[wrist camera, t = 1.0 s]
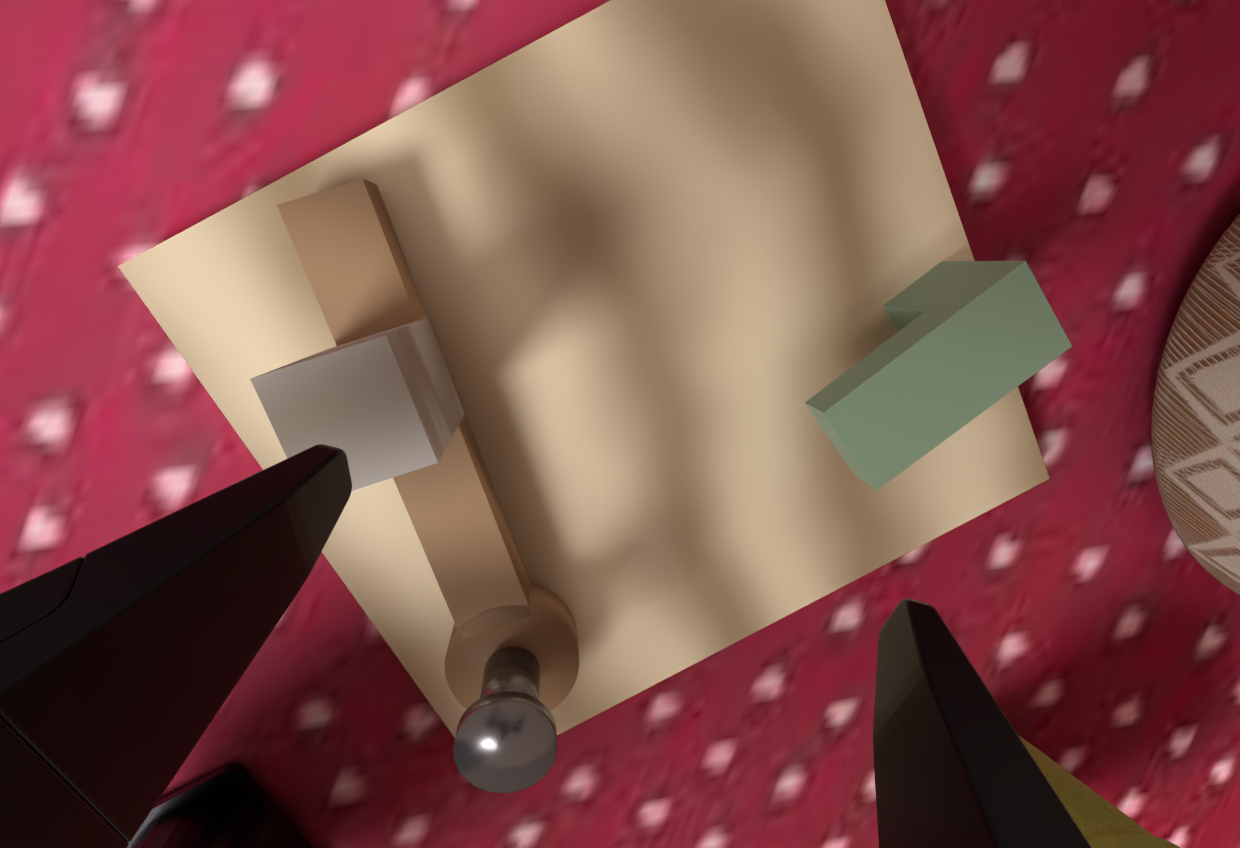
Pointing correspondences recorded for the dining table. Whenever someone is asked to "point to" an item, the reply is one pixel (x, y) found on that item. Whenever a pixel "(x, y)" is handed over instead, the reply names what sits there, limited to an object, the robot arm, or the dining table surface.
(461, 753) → the knob
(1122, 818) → the plant pot
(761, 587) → the base plate
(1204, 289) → the planter
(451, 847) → the dining table surface
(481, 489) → the link
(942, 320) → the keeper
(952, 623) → the dining table surface
